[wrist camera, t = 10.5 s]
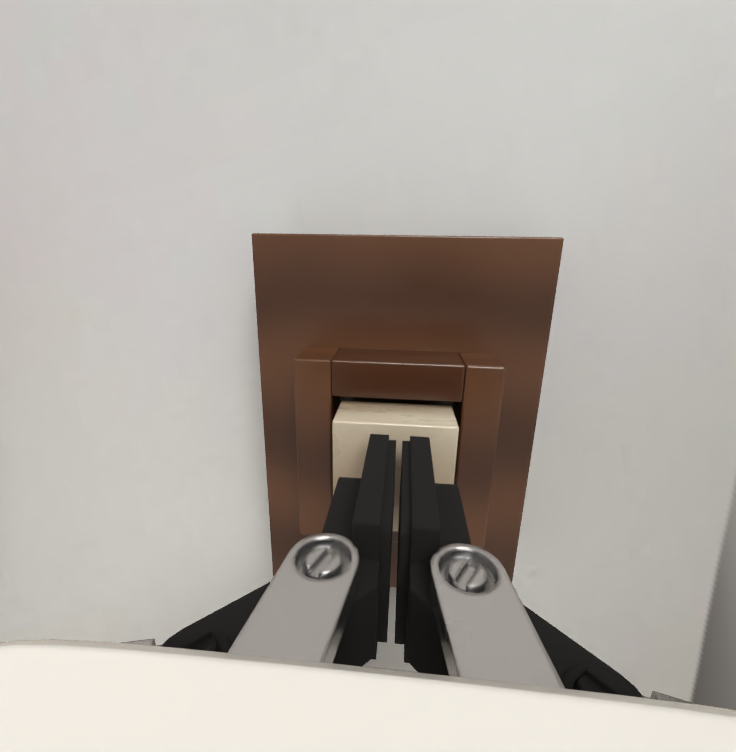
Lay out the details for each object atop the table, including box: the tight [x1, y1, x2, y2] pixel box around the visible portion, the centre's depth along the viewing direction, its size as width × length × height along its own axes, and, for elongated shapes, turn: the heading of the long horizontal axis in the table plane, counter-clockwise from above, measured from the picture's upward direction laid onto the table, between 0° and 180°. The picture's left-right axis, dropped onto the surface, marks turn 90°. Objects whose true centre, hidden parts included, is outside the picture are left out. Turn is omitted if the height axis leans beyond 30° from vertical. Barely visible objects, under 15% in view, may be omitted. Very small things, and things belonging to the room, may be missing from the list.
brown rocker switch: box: [252, 233, 564, 587], centre depth 15 cm, size 14×10×4 cm
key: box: [332, 401, 459, 531], centre depth 13 cm, size 4×4×2 cm
